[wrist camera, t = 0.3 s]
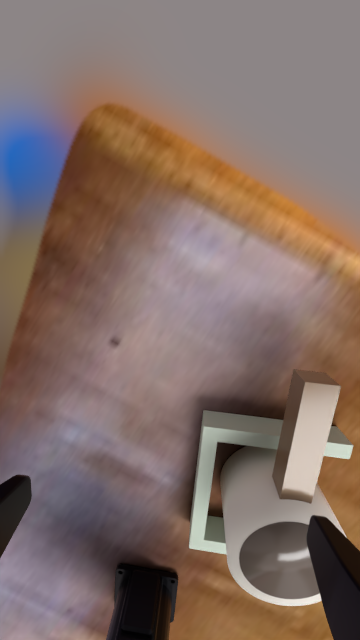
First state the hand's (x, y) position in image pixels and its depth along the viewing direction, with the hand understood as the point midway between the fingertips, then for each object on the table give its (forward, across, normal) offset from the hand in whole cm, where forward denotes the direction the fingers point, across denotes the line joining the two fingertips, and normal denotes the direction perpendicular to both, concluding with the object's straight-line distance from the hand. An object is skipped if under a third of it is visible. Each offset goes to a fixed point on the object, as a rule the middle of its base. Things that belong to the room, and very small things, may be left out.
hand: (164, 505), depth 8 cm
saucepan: (+13, -8, +7) cm, 16 cm away
